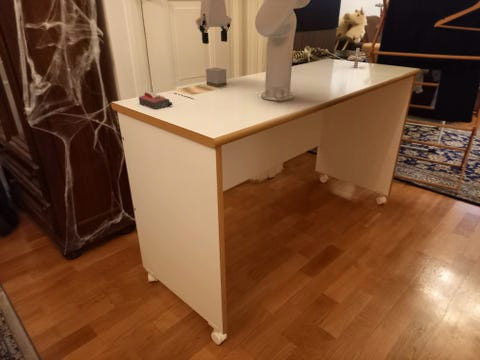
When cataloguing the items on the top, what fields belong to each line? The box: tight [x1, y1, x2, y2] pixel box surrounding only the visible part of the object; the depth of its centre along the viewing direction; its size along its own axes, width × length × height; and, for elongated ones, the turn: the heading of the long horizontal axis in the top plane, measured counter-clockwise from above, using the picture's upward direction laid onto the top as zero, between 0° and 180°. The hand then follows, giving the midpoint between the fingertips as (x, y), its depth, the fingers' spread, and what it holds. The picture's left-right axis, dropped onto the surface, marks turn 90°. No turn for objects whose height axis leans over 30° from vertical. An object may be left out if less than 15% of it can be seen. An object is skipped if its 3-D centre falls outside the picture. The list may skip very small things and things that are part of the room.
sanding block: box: [205, 67, 228, 88], centre depth 146 cm, size 5×7×6 cm
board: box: [173, 82, 234, 100], centre depth 144 cm, size 22×12×2 cm, turn 134°
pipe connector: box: [347, 47, 367, 69], centre depth 187 cm, size 10×10×10 cm
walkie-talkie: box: [138, 91, 173, 111], centre depth 129 cm, size 9×4×20 cm
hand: (215, 42), depth 140 cm, fingers open, 9 cm apart
